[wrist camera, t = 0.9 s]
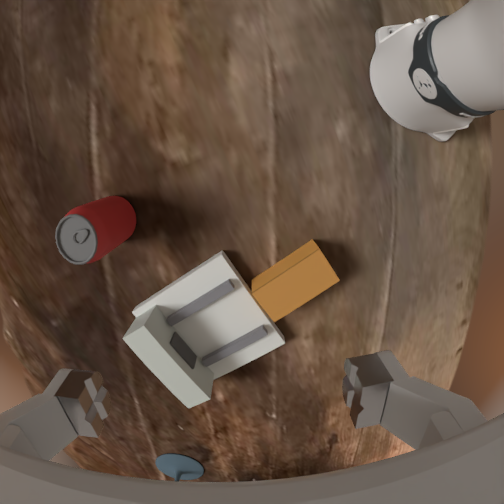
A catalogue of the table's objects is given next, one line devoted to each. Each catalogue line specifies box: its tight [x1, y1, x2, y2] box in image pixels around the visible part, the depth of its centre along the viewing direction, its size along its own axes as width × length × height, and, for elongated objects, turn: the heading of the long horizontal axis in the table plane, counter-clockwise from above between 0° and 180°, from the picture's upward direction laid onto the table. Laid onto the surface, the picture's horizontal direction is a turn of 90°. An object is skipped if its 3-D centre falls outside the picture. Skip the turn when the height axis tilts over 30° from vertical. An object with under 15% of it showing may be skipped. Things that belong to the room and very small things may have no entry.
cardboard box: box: [252, 239, 340, 322], centre depth 42 cm, size 10×5×5 cm, turn 125°
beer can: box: [55, 196, 136, 264], centre depth 36 cm, size 7×7×12 cm
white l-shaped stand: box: [123, 250, 285, 408], centre depth 42 cm, size 16×16×8 cm
